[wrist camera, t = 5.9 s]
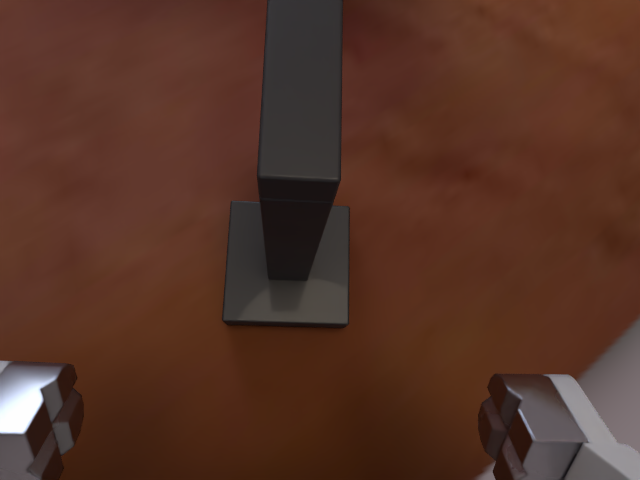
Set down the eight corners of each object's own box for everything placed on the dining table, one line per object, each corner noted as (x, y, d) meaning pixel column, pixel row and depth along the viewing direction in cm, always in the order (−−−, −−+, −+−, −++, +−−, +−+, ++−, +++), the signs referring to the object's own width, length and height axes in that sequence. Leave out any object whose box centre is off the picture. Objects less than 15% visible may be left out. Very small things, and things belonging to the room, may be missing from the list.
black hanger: (344, 328, 21) (432, 273, 9) (225, 324, 20) (153, 262, 8) (345, 169, 22) (419, -49, 11) (237, 163, 22) (191, -69, 10)
